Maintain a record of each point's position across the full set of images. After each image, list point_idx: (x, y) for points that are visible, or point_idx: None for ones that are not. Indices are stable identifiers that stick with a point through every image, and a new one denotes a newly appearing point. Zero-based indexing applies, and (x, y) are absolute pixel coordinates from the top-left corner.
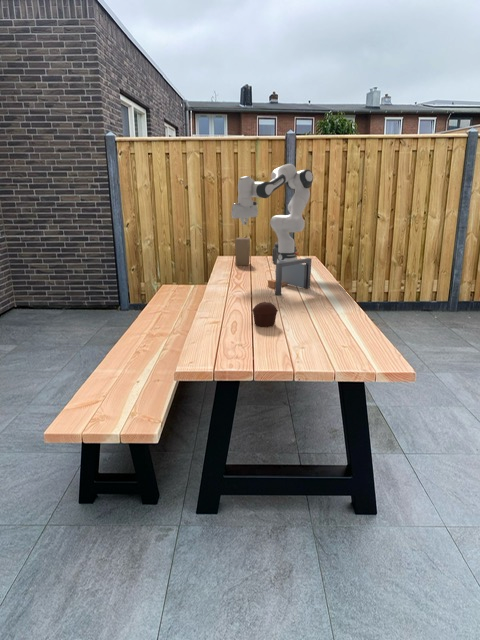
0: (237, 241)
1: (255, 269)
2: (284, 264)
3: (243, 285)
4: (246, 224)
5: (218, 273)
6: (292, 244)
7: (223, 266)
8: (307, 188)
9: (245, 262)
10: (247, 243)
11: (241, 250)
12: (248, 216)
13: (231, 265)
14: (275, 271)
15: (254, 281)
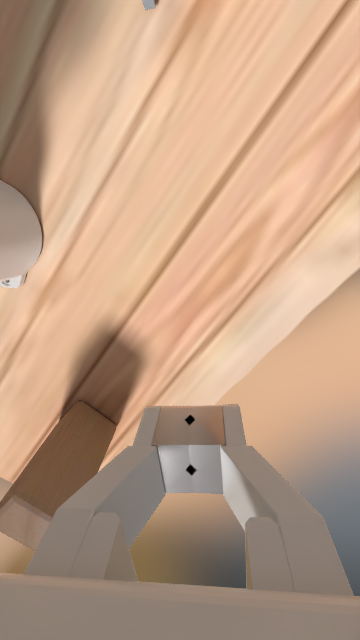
0: None
1: (87, 341)
2: None
3: (344, 78)
4: (160, 406)
5: (251, 362)
6: None
7: None
8: None
9: (83, 412)
10: (32, 477)
11: (75, 461)
12: (11, 632)
13: (126, 435)
14: (38, 254)
15: (234, 134)
